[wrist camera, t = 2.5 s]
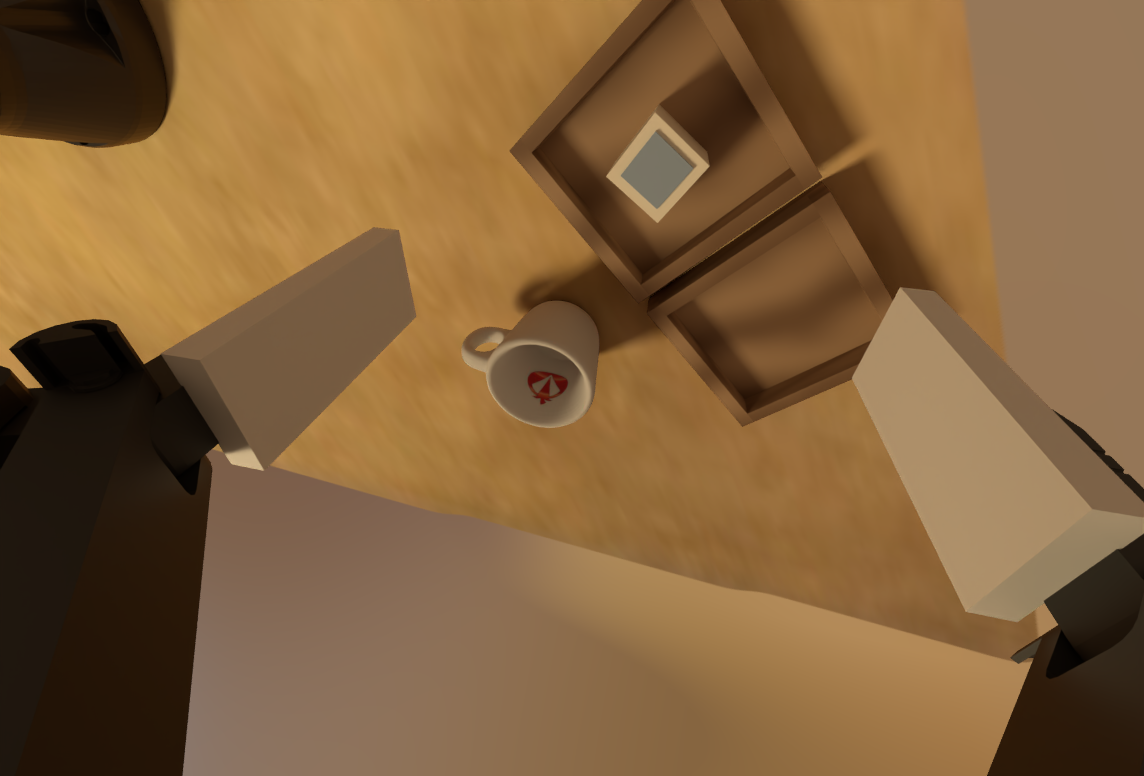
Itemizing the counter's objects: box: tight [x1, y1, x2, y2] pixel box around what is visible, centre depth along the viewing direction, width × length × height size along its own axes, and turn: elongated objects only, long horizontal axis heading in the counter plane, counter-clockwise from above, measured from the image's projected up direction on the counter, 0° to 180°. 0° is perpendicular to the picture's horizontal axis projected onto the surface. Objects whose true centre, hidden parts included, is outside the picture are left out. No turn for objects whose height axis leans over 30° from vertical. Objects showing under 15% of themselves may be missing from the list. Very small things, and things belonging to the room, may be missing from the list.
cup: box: [462, 301, 599, 428], centre depth 35 cm, size 11×8×8 cm
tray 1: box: [510, 0, 822, 303], centre depth 27 cm, size 13×13×2 cm
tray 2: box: [647, 181, 893, 427], centre depth 32 cm, size 13×13×2 cm
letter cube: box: [606, 104, 710, 223], centre depth 26 cm, size 4×4×4 cm
